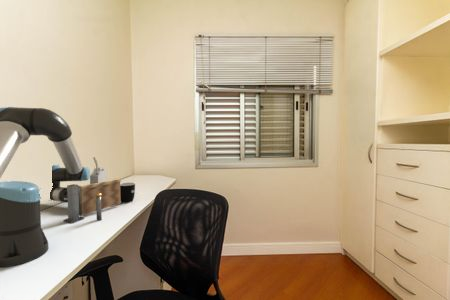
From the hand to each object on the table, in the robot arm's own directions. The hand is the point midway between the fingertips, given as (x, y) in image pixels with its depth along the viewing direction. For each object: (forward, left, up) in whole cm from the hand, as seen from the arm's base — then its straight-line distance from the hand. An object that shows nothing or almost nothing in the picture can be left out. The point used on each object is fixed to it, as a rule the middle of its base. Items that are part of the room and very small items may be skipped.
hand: (99, 198), depth 122 cm
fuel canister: (+23, +25, -7) cm, 34 cm away
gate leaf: (-1, -1, -5) cm, 5 cm away
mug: (+21, +1, -7) cm, 22 cm away
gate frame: (-13, -3, -6) cm, 14 cm away
